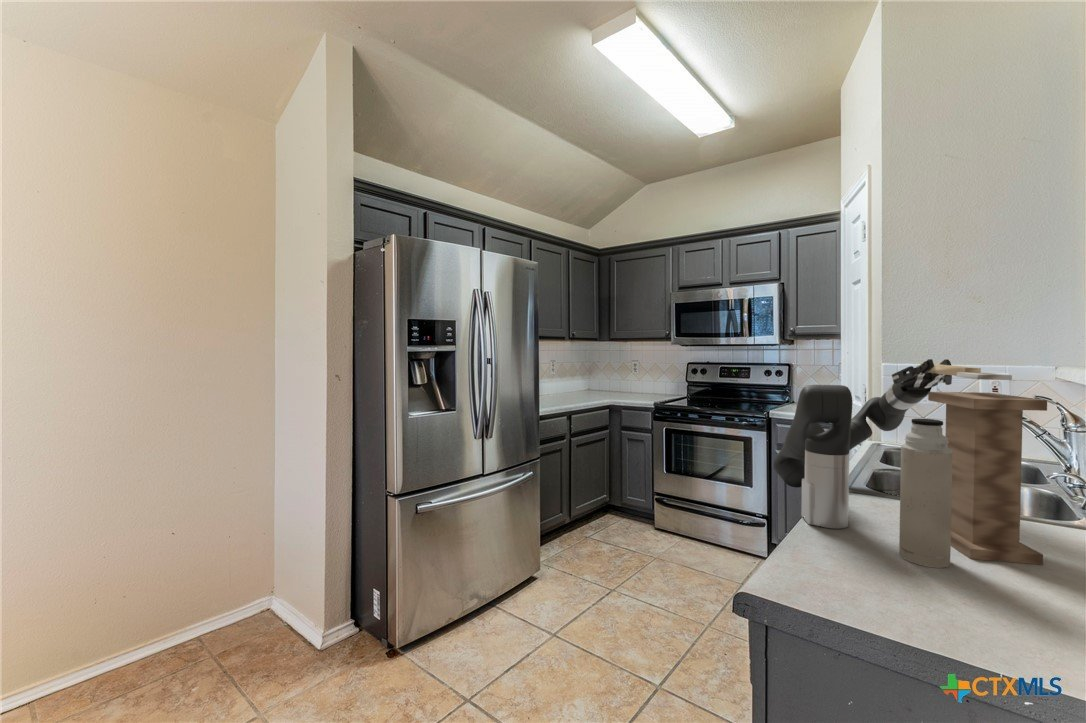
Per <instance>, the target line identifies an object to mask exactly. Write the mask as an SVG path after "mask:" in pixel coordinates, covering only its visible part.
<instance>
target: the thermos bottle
mask: <svg viewBox="0 0 1086 723" xmlns="http://www.w3.org/2000/svg"><path fill="white" fill-rule="evenodd" d="M911 424H912V425H911V427H910V432H909V433H906V434H905V438H904V441H905V443H904V444H901V446H900V489H899V490H900V491H899V493H900V494H899V536H898V538H899V539H898V541H899V543H898V549H899V550H898V551H899V552H898V554H899V556H900V557H901V558H902V559H904V560H906V561H907V562H910V563H912V564H917V565H920V566H923V567H928V568H935V569H936V568H938V569H939V568H940V569H941V568H942V569H945V568H948V567H950V566H951V548H952V546H951V503H952V457H953V451H952V450H951V449H949V448H948V443H949V441H948V438H947V437H945V435H943V427H942V426H943V425H944V421H943V420H941V419H940V420H939V419H931V418H912V419H911Z"/></svg>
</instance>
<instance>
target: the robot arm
mask: <svg viewBox="0 0 1086 723" xmlns="http://www.w3.org/2000/svg"><path fill="white" fill-rule="evenodd" d="M920 364H921V365H917V366H916V367H914V366H907V367H905V368H903V369H901V370H898V371H896V372H895V373H893V374H891V378H892V382H893V384H891V385H890V386H889V388H887V391H885V393H883V395H882V396H881V397H880V396H876V397H875V396H874V397H872V398H870V399H868V400H867V401H866V402H865V403H864V405H862V407H861V408H860V410H859V411H858V412H857V413H856V414H855V415H854V416H852V415H853V396H852V392H851V390H850V388H849V387H848V386H846V385H841V384H809V385H805V386H803V388H802V389H801V390H800V393H799V395H798V399H797V403H796V408H795V414H794V417H793V420H792V422H791V425H790V427H789V429H788V431H787V433H786V435H785V439H784V443H783V444H782V447H781V449H780V451H779V452H778V454H777V455H776V457H775V459H774V461H773V463H772V468H773V470H774V471H775V473H776V474H777V475H778V476H779V478H780V479H782V481H783V482H784V483H785V484H786V485H788V486H789V487H792V488H801V507H800V508H801V510H800V511H801V517H802V518H803V517H804V516H805V517H804V518H803V520H805V521H806V523H807V524H808V525H813V526H817V527H820V526H821V527H822V528H826V529H846V528H847V527H848V526H849V518H850V517H849V516H850V515H849V510H850V509H849V507H850V506H849V504H850V503H849V499H850V497H849V494H850V451H851V450H853V449H854V448H856V447H857V446H858V445H861V444H862V443H863V442H865V441H866V440H868V439H869V438H871V437H872V436H873V430H872V428H871V426H870V425H869V423H868V421H867V418H868V419H869V420H870V422H872V423H873V424H874V425H875V426H876V427H877V428H878V429H879V430H881V431H883V432H890V431H891V432H892V431H894V430H896V429H897V428H898V427H900V425H901V424H902V423H903V420H904V419H905V415H906V412H907V411H908V410H909V409H911V408H912V407H914V406H916V405H917V404H918V403H920V402H921V401H923V399H925V398H926V397H927V396H928V392H932V389H933V388H934V387H936V386H938V385H939V384H945V386H950V385H951V384H952V383H953V380H952V379H953V375H945V374H937V373H929V372H928V371H930V370H931V369H932V368H933V367H934V364H935V363H934V360H933V359H931V358H928V359H927V360H925V361H923V362H922V363H920ZM939 364H941V365H952V363H951V361H950V360H949V359H948V358H947V359H946V358H945V359H943V360H942V361H941V362H940V363H939ZM822 424H831V426H830V427H829V428H828V429H827V430H825V429H824V427H823V426H822Z"/></svg>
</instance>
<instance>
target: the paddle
mask: <svg viewBox="0 0 1086 723" xmlns="http://www.w3.org/2000/svg"><path fill="white" fill-rule="evenodd" d="M919 364H920V365H921V364H922V363H919ZM928 372H929V373H937V374H945V375H952V377H953V376H954V377H957V378H963V379H964V378H965V379H972V380H985V381H986V380H989V381H992V380H993V381H994V380H995V381H996V380H997V381H1001V380H1002V381H1013V375H1012V374H1003V373H996V372H995V373H993V372H982V368H981V367H973V366H962V365H952V364H951V365H941V364H940V363H934V367H933V368H932V369H931V370H930V371H928Z"/></svg>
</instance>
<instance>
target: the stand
mask: <svg viewBox="0 0 1086 723" xmlns="http://www.w3.org/2000/svg"><path fill="white" fill-rule="evenodd" d="M927 396H928V397H927V401H929V402H934V403H939V404H940V403H941V404H945V433H944V434H945V435H944V436H945V437H947V438H948V441H949V443H948V448H949V449H951V450H952V451H953V457H952V503H951V548H953V549H955V550H956V551H957V552H959V553H961V554H962V555H964V556H966V557H967V558H968V559H969V560H980V561H982V560H983V561H994V562H1004V563H1005V562H1007V563H1018V564H1029V565H1031V564H1032V565H1041V566H1043V565H1044V554H1043V553H1041V552H1040V551H1038V550H1036V549H1034V548H1032V547H1030V546H1028V545H1026V544H1024V543H1023V542H1020V539H1021V538H1020V535H1021V532H1020V529H1021V500H1022V499H1021V497H1022V496H1021V495H1022V494H1021V493H1022V491H1021V490H1022V459H1023V458H1022V456H1023V455H1022V453H1023V452H1022V451H1023V416H1024V415H1023V414H1024V411H1040V412H1041V411H1048V400H1047V399H1041V398H1033V397H1025V396H1017V395H1011V394H1002V393H995V392H975V391H974V392H971V391H970V392H969V391H968V392H967V391H963V392H961V391H930V392H928V395H927Z"/></svg>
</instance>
